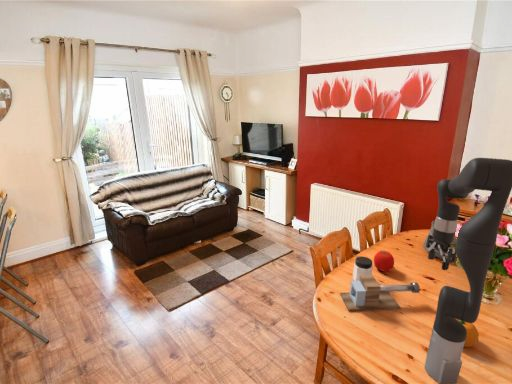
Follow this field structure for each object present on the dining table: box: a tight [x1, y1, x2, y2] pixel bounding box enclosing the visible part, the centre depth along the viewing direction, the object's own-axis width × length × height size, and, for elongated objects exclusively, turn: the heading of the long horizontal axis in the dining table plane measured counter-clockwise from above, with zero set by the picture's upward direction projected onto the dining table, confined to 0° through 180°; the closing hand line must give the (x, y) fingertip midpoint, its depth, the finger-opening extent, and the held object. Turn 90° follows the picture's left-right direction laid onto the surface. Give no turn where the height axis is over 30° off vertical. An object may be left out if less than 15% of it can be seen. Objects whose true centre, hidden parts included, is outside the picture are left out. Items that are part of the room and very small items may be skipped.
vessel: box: [423, 220, 457, 260], centre depth 178 cm, size 22×22×20 cm
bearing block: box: [339, 275, 402, 312], centre depth 138 cm, size 12×24×12 cm, turn 93°
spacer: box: [349, 280, 366, 306], centre depth 137 cm, size 8×4×8 cm, turn 3°
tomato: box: [373, 250, 395, 272], centre depth 164 cm, size 10×11×11 cm
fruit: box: [456, 319, 480, 348], centre depth 116 cm, size 12×12×10 cm
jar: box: [352, 255, 373, 281], centre depth 154 cm, size 9×8×12 cm
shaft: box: [379, 282, 421, 294], centre depth 138 cm, size 24×5×5 cm, turn 93°
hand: (437, 264), depth 123 cm, fingers open, 8 cm apart
